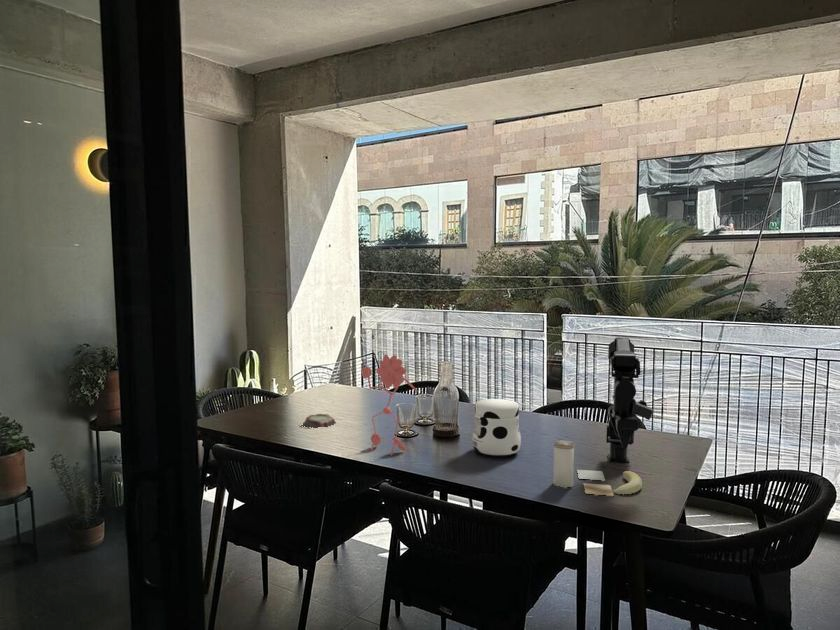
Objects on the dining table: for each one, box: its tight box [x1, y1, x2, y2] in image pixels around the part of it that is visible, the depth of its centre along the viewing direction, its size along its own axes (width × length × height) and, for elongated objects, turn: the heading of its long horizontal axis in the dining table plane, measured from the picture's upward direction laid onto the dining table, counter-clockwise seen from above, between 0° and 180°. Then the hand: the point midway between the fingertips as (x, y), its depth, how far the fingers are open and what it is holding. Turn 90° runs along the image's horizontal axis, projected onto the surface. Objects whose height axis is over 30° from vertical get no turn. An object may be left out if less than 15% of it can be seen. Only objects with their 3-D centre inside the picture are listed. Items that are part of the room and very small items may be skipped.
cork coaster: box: [582, 482, 615, 497], centre depth 177 cm, size 8×8×1 cm
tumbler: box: [553, 440, 575, 488], centre depth 181 cm, size 6×6×13 cm
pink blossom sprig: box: [361, 354, 419, 459], centre depth 216 cm, size 15×26×35 cm, turn 56°
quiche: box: [300, 413, 337, 428], centre depth 250 cm, size 21×20×4 cm
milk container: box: [472, 398, 522, 458], centre depth 211 cm, size 17×17×18 cm
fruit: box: [612, 470, 643, 496], centre depth 179 cm, size 7×15×3 cm, turn 149°
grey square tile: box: [576, 469, 606, 482], centre depth 189 cm, size 8×8×1 cm
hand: (622, 444), depth 181 cm, fingers open, 9 cm apart
